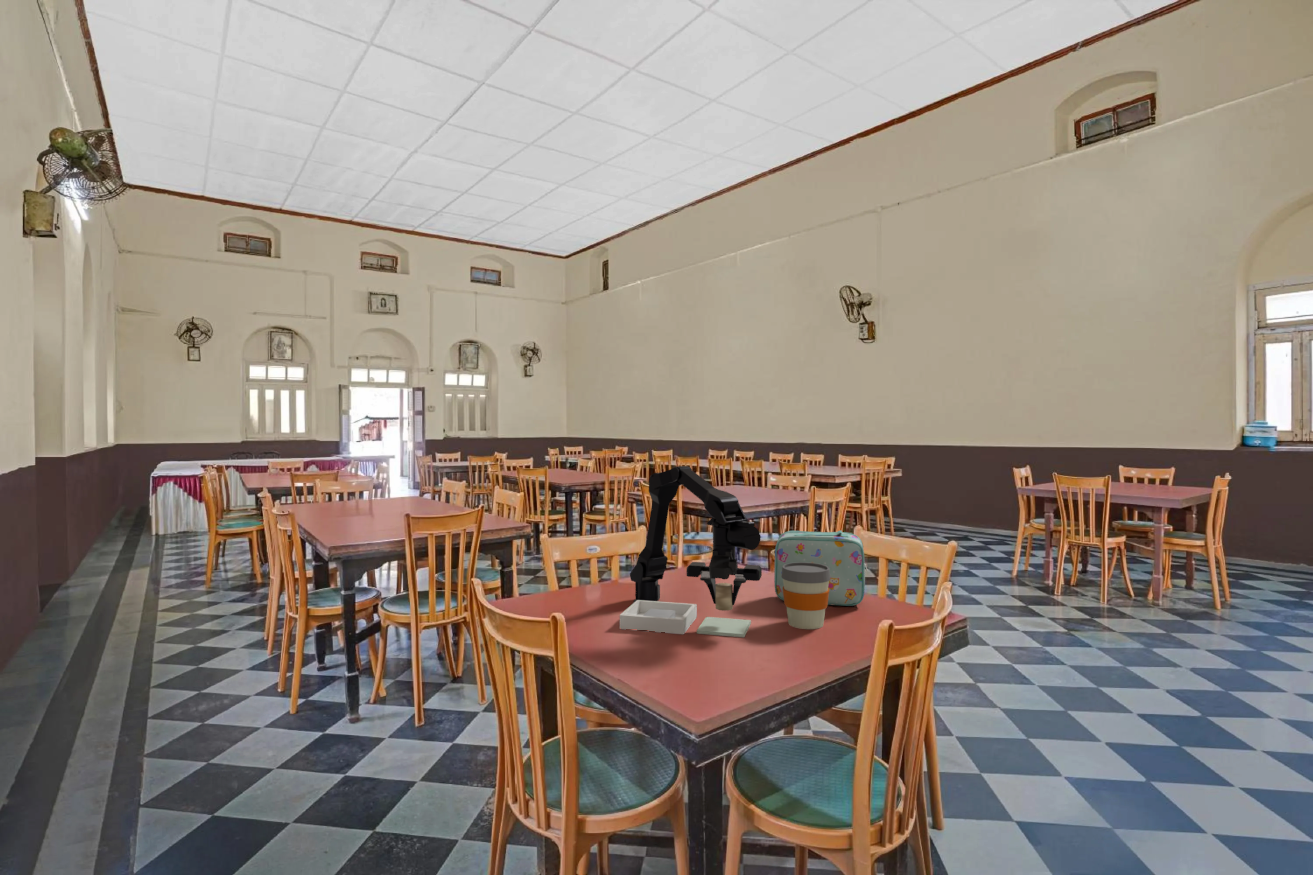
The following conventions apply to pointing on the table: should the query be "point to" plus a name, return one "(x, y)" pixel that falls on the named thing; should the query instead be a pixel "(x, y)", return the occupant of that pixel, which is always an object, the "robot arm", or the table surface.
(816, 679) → the table surface
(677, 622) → the tray
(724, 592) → the birch cylinder
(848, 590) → the lunch box
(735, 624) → the green pad
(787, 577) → the reusable coffee cup
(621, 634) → the table surface
